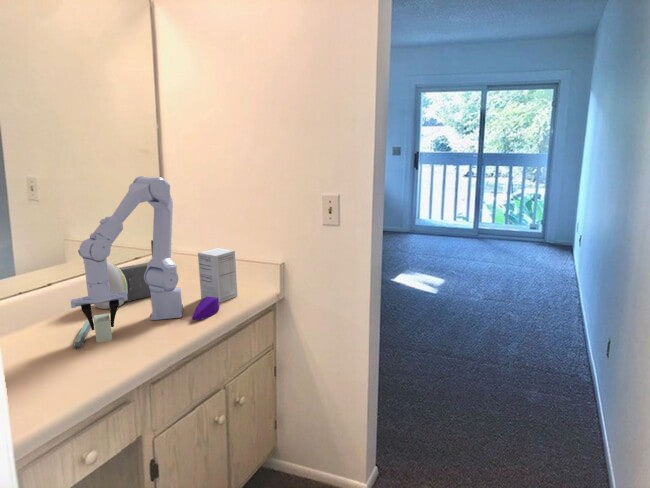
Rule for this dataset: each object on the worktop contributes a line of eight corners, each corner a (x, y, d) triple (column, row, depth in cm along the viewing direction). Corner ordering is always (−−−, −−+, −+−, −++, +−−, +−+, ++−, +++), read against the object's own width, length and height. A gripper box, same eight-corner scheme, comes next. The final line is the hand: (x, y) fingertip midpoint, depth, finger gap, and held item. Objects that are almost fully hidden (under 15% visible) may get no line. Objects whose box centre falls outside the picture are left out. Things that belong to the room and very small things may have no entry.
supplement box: (220, 292, 187) (217, 247, 184) (238, 296, 182) (236, 250, 178) (200, 299, 179) (196, 252, 176) (218, 303, 174) (215, 255, 171)
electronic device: (157, 291, 189) (154, 238, 185) (167, 294, 185) (163, 240, 181) (111, 301, 177) (106, 245, 173) (120, 305, 172) (115, 247, 168)
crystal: (185, 311, 156) (209, 292, 169) (187, 325, 157) (211, 305, 171) (199, 312, 154) (222, 293, 168) (200, 327, 156) (224, 307, 169)
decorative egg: (136, 303, 176) (133, 260, 173) (106, 313, 165) (102, 268, 162) (112, 298, 182) (109, 257, 179) (82, 307, 171) (77, 264, 168)
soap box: (112, 341, 143) (110, 320, 142) (96, 343, 142) (94, 323, 140) (110, 332, 149) (108, 313, 148) (95, 335, 148) (93, 315, 147)
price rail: (94, 325, 155) (93, 318, 155) (82, 348, 138) (81, 340, 137) (85, 326, 154) (84, 319, 154) (73, 349, 137) (72, 341, 137)
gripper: (124, 274, 149) (128, 319, 152) (68, 281, 143) (74, 327, 145) (126, 280, 143) (130, 326, 145) (68, 287, 136) (74, 335, 139)
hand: (102, 327), depth 145 cm, fingers open, 4 cm apart
